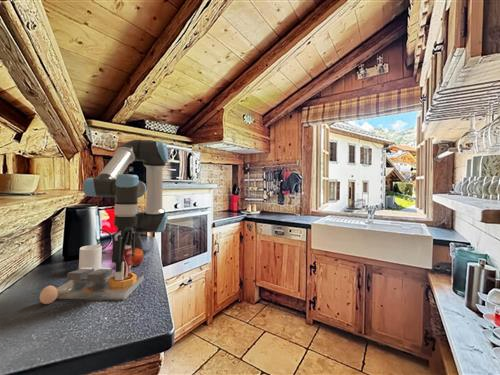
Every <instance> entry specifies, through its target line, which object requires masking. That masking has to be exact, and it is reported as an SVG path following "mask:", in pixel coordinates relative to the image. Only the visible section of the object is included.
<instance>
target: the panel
mask: <svg viewBox="0 0 500 375" xmlns="http://www.w3.org/2000/svg"><path fill="white" fill-rule="evenodd" d="M134 274H135V275H137V279H136V282H135V283H134V284H132V285H129V286H126V287H122V288H120V287H111V286H110V285H109V278H110V277H112V276H113V275H115V273H112V275H110V276H109V277H107V278H105V279H103V280H102V281H100V282H97V281H87V278H84V279H82V280H67V282H65V283H63V284H61V285H60V286H58V287H55V288H56V289H57V291H58V295H57V298H56V299H57V300H58V299H61V300H64V299H65V300H68V299H69V300H115V301H116V300H117V301H118V300H119V301H120V300H121V301H122V300H124V301H125V300H126V299H127V298H128V297H129V296H130V295H131V294H132V293H133V292H134V291H135V290H136V288H138V287H139V286H140V284H141V283H142V282H143V281H144V276H145V275H144V274H142V273H139V274H138V273H134ZM124 280H128V279H124ZM124 280H116V281H124ZM56 299H55V300H56Z"/></svg>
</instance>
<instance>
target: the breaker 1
mask: <svg viewBox="0 0 500 375" xmlns="http://www.w3.org/2000/svg"><path fill="white" fill-rule="evenodd" d="M93 271H94V268H81V269H79V268H78V269H76V270H72V271H69V272H67V276H66V280H67V281H70V280H82V279H84V278H87V274H89V273H91V272H93Z"/></svg>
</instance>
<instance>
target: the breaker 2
mask: <svg viewBox="0 0 500 375" xmlns="http://www.w3.org/2000/svg"><path fill="white" fill-rule="evenodd" d="M112 274H113V267H101V268H99V269H98V270H96V271H93V272H91V273H89V274H87V281H97V282H100V281H102V280H103V279H105V278H107V277H109V276H110V275H112Z"/></svg>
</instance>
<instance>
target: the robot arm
mask: <svg viewBox="0 0 500 375" xmlns="http://www.w3.org/2000/svg"><path fill="white" fill-rule="evenodd" d="M136 161H137V162H142V163H143V166H144V167H145V168H146V171H145V172H146V176H145V177H146V183H144V182H143V181H141V180H139V176H138V175H137V174H124V172H125V171H126V170H127V168H128V166H129V165H130V164H132V163H133V162H136ZM168 162H169V150H168V146H167V144H166V143H165V142H163V141H158V140H145V139H132V140H129V141H126V142H125V143H122V144H120V146H118V147H117V148H116V149H115V152H114V156H112V158H111V159H110V160H109V162H108V163H107V164H106V165H105V166H104V168H102V170H101V171H100V173H99V174H98V175H97V176H96V177H87V178H85V179H84V181H83V183H82V192H83V194H84V195H85V196H87V197H96V198H114V206H113V208H114V215H115V216H114V217H113V225H114V227H116V228H117V231H116V234H113V235H112V237H111V238H112V249H111V250H112V251H111V252H112V253H111V263H115V267H114V269H115V270H114V274H115V280H123V276H124V262H123V257H124V251H125V245H131V248H132V256H134V254H133V253H134V252H135V248H138V249H141V250H142V251H143V247H144V246H143V241H142V239H141V233H163V232H164V231H165V230H166V227H167V222H168V218H169V217H168V216H169V214H168V213H167V212H166V209H165V208H164V207H163V177H164V176H163V175H164V174H163V173H164V172H163V171H164V170H163V168H165V167H166V164H168ZM145 194H146V207H145V209H144V210H143V212H142V210H141V209H138V205H139V204H138V199H139V198H141V197H143V196H144V195H145Z"/></svg>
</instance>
